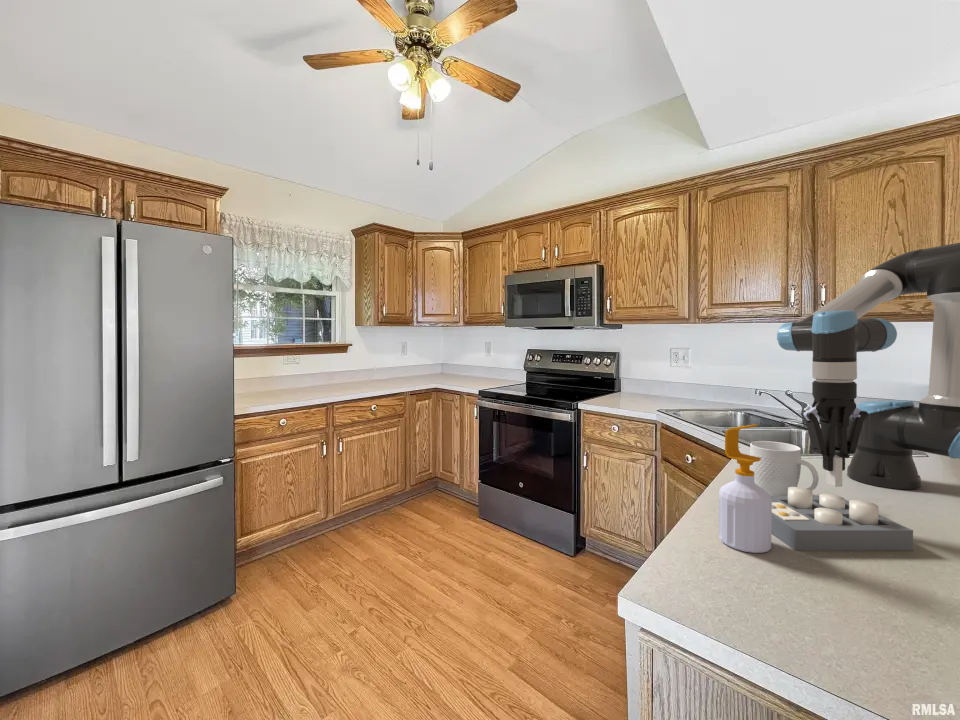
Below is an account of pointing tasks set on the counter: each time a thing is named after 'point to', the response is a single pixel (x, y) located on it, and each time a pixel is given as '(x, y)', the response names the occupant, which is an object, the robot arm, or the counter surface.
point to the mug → (778, 467)
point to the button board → (835, 530)
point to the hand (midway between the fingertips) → (833, 484)
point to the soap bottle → (744, 503)
